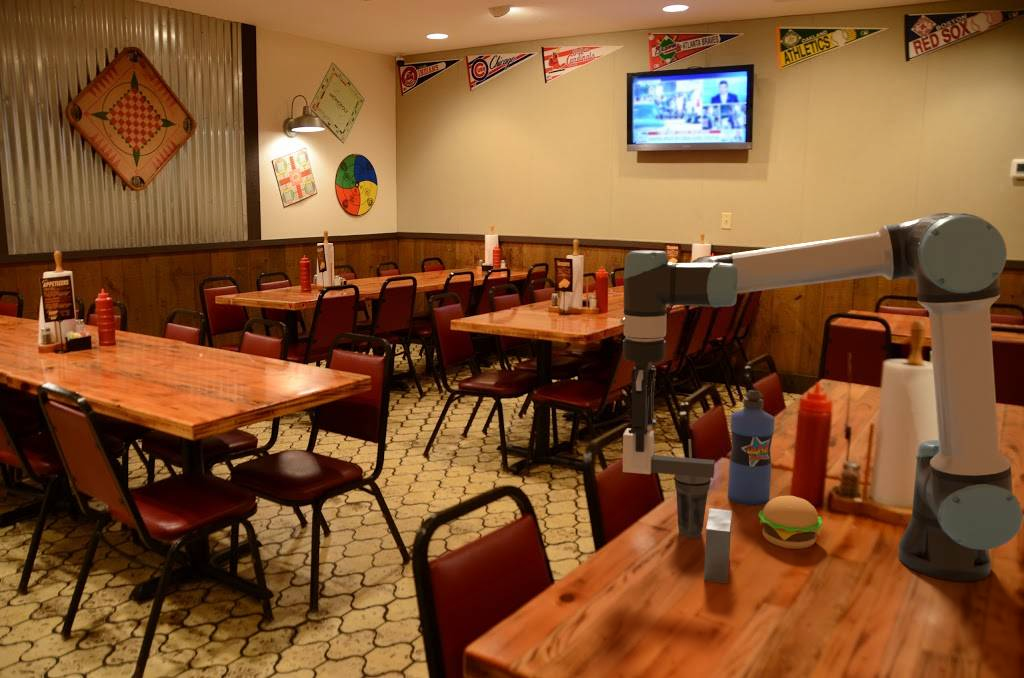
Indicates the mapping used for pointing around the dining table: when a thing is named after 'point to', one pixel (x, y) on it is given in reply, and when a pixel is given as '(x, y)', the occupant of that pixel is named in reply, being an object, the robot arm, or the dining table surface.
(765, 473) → the water bottle
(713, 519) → the grey slab
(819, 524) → the hamburger
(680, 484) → the beverage cup
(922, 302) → the robot arm
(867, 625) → the dining table surface
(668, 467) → the beige and grey hammer
